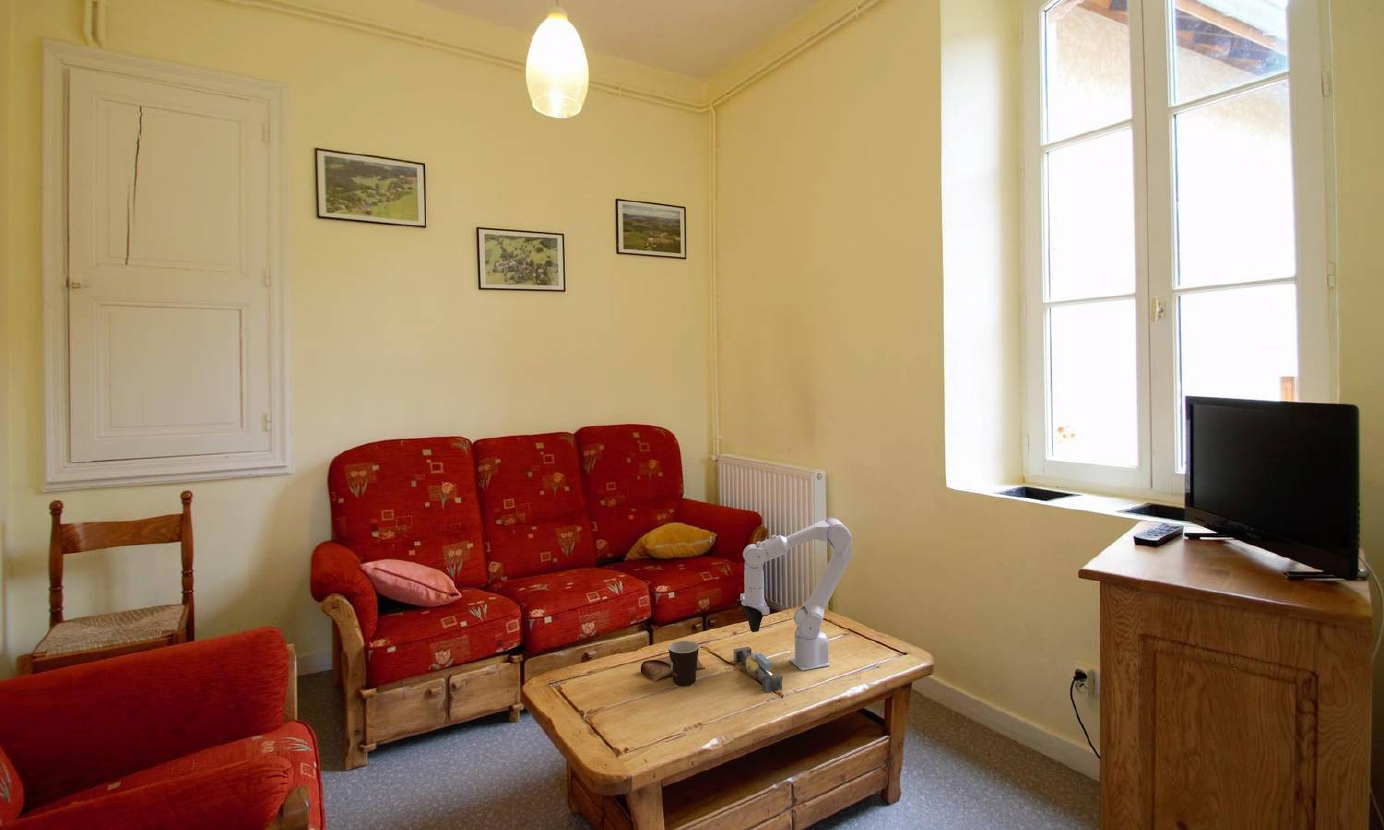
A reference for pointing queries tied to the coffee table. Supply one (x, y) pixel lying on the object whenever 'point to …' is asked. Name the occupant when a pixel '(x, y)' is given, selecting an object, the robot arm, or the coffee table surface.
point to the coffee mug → (683, 662)
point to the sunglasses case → (660, 668)
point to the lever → (762, 660)
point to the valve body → (757, 670)
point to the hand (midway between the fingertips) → (754, 631)
